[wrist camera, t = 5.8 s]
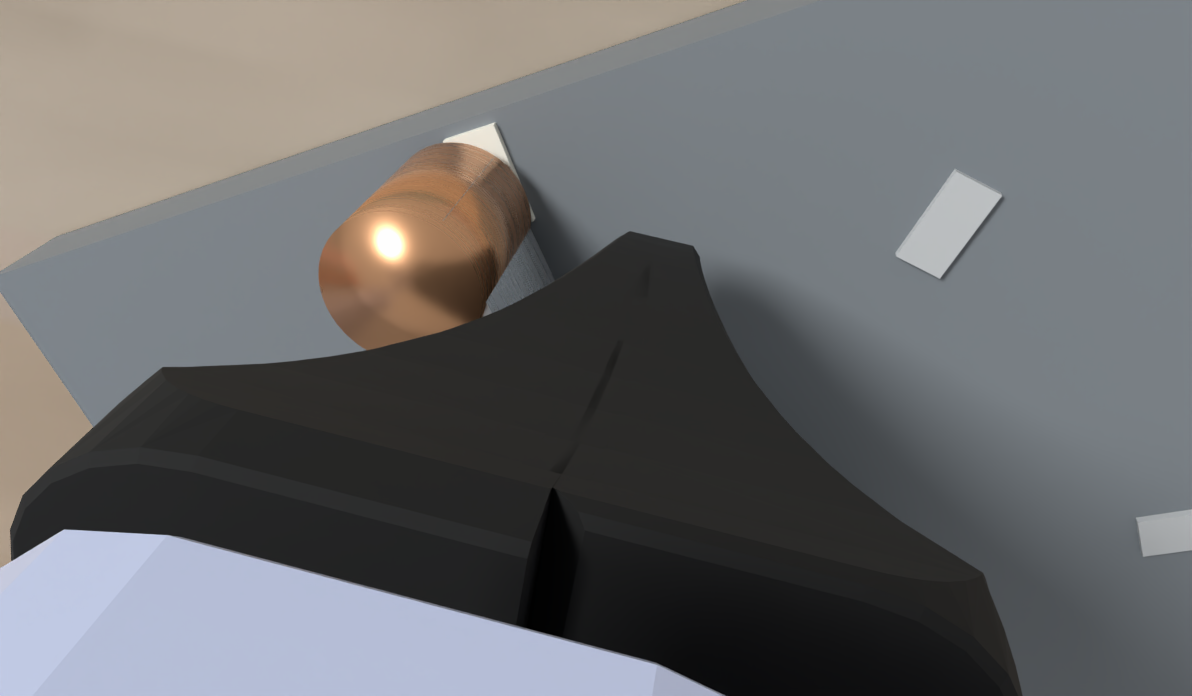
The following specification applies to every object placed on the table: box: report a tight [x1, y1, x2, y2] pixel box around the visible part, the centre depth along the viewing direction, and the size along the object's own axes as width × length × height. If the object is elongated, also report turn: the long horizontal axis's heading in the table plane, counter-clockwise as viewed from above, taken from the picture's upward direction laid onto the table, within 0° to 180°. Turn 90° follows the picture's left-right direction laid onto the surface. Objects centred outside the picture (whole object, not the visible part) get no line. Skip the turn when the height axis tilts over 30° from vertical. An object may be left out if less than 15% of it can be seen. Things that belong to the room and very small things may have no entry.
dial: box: [318, 142, 556, 350], centre depth 13 cm, size 11×6×2 cm, turn 24°
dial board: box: [0, 0, 1192, 696], centre depth 16 cm, size 16×16×2 cm
